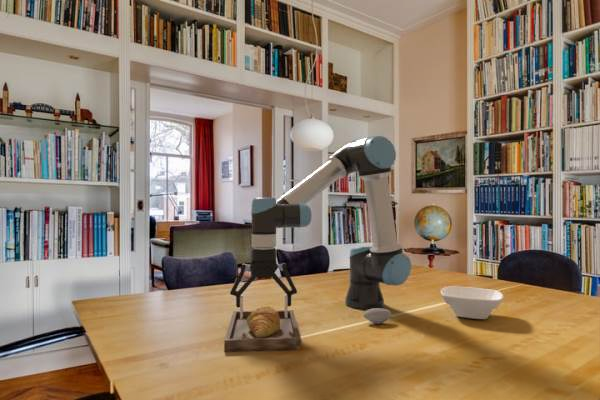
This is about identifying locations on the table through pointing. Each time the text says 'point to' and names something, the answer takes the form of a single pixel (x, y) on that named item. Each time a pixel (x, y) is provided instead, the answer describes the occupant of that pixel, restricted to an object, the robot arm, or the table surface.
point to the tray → (245, 340)
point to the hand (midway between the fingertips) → (263, 317)
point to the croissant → (264, 322)
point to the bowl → (471, 301)
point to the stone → (377, 315)
